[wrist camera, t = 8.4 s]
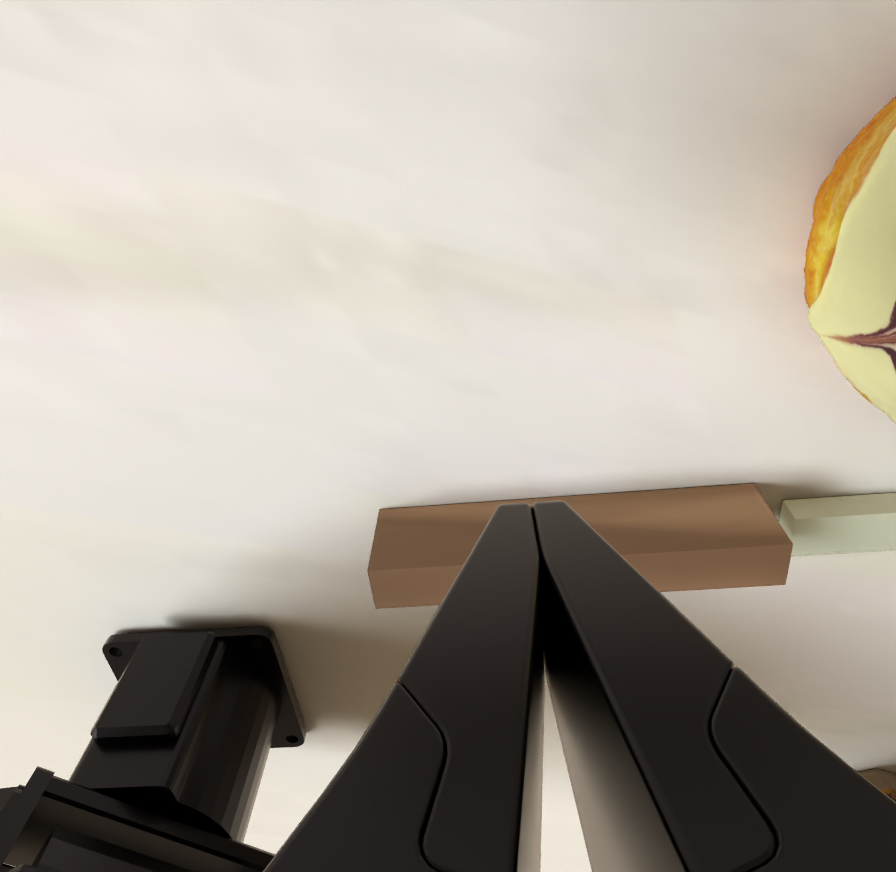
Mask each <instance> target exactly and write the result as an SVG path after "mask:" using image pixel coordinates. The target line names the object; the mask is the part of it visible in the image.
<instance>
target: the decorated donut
mask: <svg viewBox="0 0 896 872" xmlns="http://www.w3.org/2000/svg"><path fill="white" fill-rule="evenodd" d="M813 219H814V222H813V226H812V230H811V233H810V237H809V240H808V245H807V249H806V263H805V269H804V272H805V293H804V294H805V299H806V302H807V304H808V306H809V314H808V320H809V323H810V325H811V327H812V329H813V330H814V331H815V332H816V333H817V335H818V336H819V338H820V339H821V341H822V343H823V344H824V346H825V347H826V348H827V349H828V351H829V353H830V354H831V356H832V358H833V359H834V361H835V363H836V366H837V368H838V369H839V370H840V372H841V373H842V374H843V376H844V377H846V379H847V380H848V381H849V382H850V383H851V384H852V386H853V387H854V388H855V389H856V390H857V391H858V392H859V393H860V394H861V395H862V396H863V397H864V398H866V399H867V400H868V401H869V402H870V403H872V404H873V405H875V406H876V407H877V408H878V409H880V410H882V411H883V412H885V413H886V414H887V415H888V416H889V417H890V419H891V420H892V421H893V422H894V423H896V96H895V97H894V98H893V99H892V100H891V101H890V102H889V103H888V104H887V105H886V106H885V107H884V108H883V109H882V110H881V111H880V112H879V113H878V114H877V115H876V116H875V117H874V118H873V119H872V120H871V121H870V123H869V124H868V125H867V126H865V127H864V128H863V129H862V130H861V131H860V133H859V134H858V135H857V136H856V138H855V139H854V140H853V141H852V143H851V144H850V145H849V146H848V147H847V148H846V149H845V150H844V152H843V153H842V154H841V155H840V157H839V158H838V159H837V161H836V163H835V166H834V169H833V171H832V173H831V174H830V175H829V176H828V177H827V178H826V179H825V181H824V182H823V184H822V185H821V187H820V189H819V191H818V193H817V196H816V199H815V203H814V209H813Z"/></svg>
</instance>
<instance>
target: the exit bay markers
mask: <svg viewBox="0 0 896 872" xmlns="http://www.w3.org/2000/svg"><path fill="white" fill-rule="evenodd" d="M779 523H780V525H781V526H782V528H783V529H784V531H785V532H786V534H787V535H788V537H789V539H790V540H791V542H792V543H793V548H792V553H791V557H794V556H810V555H827V554H843V553H859V552H875V551H892V550H896V493H882V494H868V495H853V496H838V497H824V498H809V499H794V500H783V501H782V506H781V512H780V518H779Z"/></svg>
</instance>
